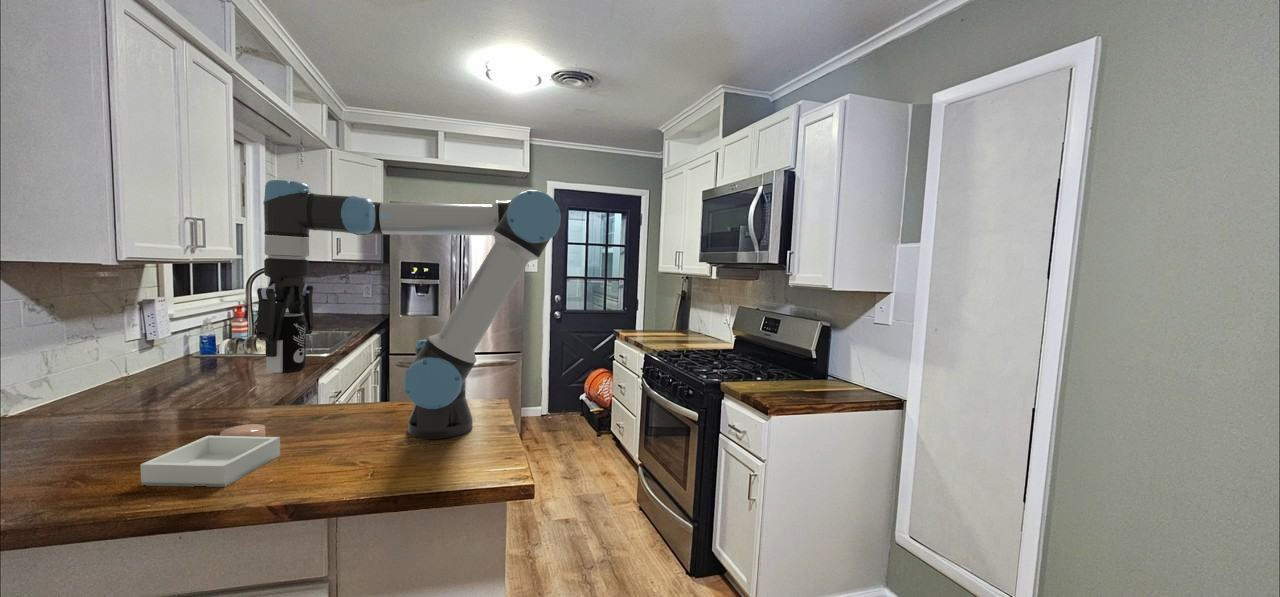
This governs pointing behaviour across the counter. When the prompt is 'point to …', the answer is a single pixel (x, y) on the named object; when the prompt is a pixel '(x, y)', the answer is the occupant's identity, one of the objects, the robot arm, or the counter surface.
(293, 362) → the beverage can
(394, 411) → the counter surface
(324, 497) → the counter surface
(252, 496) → the counter surface
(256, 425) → the pink shiny round part
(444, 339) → the robot arm
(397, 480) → the counter surface
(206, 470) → the white square tray
